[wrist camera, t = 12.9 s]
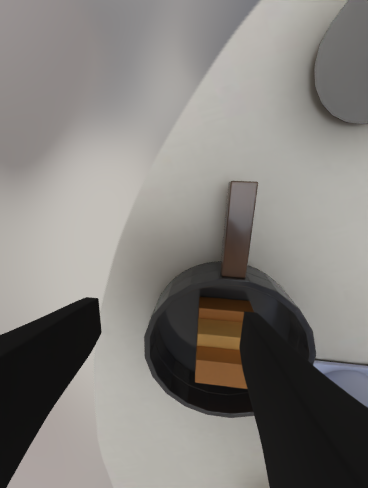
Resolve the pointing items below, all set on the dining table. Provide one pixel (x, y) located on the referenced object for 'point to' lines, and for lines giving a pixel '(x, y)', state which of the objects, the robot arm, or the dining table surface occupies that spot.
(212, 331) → the tiered wooden ziggurat
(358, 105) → the can
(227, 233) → the pan handle
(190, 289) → the pan
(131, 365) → the dining table surface
